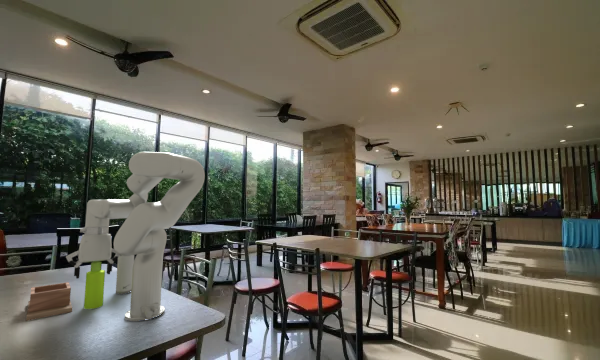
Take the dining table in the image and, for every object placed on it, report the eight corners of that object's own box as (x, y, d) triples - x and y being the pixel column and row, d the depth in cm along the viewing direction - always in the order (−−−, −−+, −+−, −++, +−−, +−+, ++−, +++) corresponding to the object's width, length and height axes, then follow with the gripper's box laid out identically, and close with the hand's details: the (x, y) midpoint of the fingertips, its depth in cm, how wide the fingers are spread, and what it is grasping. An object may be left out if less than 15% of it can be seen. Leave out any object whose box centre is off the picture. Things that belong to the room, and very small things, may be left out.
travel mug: (127, 294, 121) (129, 248, 122) (112, 294, 121) (115, 247, 123) (136, 290, 127) (138, 245, 129) (121, 290, 127) (124, 245, 129)
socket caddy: (72, 311, 102) (73, 290, 102) (26, 320, 93) (28, 297, 94) (68, 297, 116) (69, 279, 117) (28, 304, 108) (29, 285, 109)
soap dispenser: (77, 308, 105) (81, 254, 106) (97, 302, 111) (101, 251, 112) (85, 311, 102) (89, 255, 104) (106, 305, 108) (109, 253, 110)
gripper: (69, 233, 100) (64, 281, 99) (124, 230, 112) (121, 274, 111) (67, 231, 106) (63, 277, 104) (120, 229, 117) (117, 270, 116)
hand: (93, 275), depth 107 cm, fingers open, 9 cm apart
